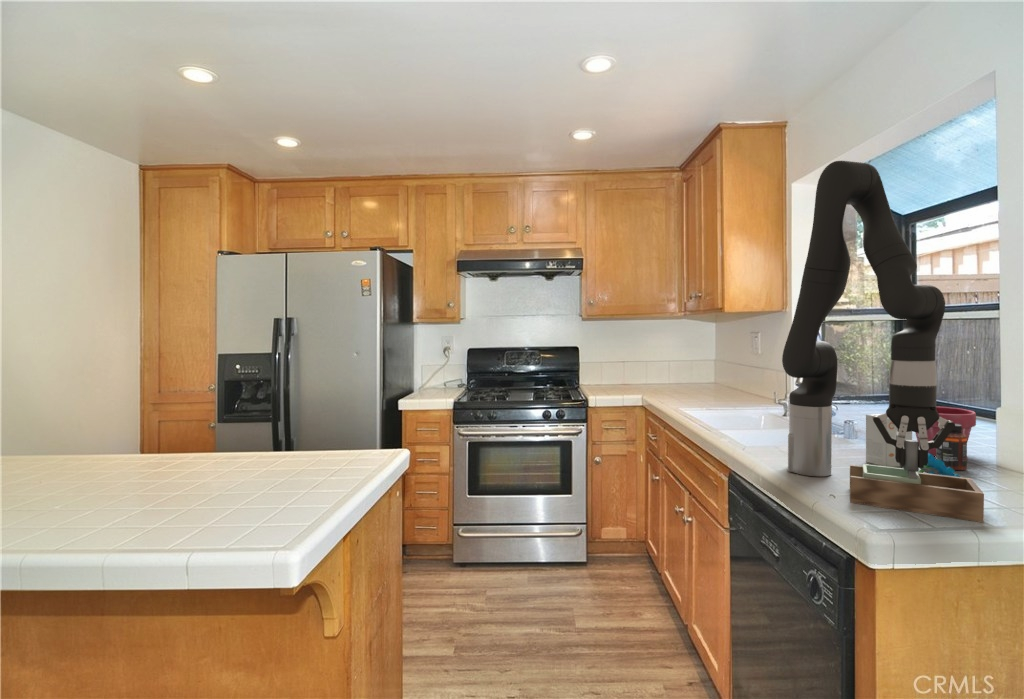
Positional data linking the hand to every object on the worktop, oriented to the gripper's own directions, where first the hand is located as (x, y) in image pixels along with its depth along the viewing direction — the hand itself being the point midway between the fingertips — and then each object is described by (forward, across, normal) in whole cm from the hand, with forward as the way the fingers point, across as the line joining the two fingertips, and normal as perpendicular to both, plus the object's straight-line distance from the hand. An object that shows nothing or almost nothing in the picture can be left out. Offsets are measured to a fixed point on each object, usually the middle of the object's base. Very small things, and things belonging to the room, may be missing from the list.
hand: (911, 465), depth 101 cm
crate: (+7, -3, 0) cm, 8 cm away
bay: (+8, 0, 0) cm, 8 cm away
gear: (+8, +7, +20) cm, 23 cm away
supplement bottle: (+8, +12, +38) cm, 40 cm away
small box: (+8, -2, +34) cm, 35 cm away
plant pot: (+8, +12, +54) cm, 55 cm away
